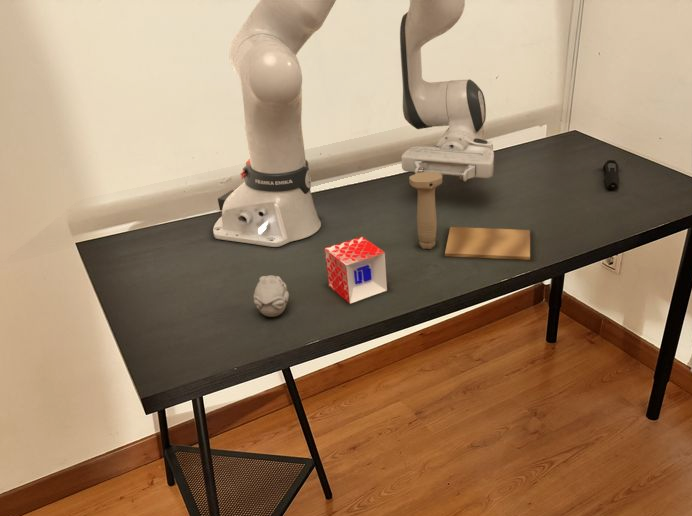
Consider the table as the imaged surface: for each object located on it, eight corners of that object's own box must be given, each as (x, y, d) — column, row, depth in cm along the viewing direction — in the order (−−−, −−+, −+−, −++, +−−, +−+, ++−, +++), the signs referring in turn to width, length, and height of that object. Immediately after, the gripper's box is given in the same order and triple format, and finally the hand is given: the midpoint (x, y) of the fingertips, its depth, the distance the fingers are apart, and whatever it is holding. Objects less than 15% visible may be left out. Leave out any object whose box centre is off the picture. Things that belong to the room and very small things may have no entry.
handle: (446, 248, 147) (446, 178, 139) (417, 254, 145) (415, 184, 136) (436, 238, 151) (435, 169, 142) (408, 244, 149) (405, 175, 140)
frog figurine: (295, 303, 130) (290, 269, 126) (286, 324, 124) (281, 290, 120) (261, 302, 130) (255, 268, 126) (251, 324, 124) (245, 289, 120)
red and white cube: (365, 273, 139) (362, 236, 134) (387, 290, 133) (384, 252, 129) (328, 286, 135) (324, 248, 130) (349, 304, 130) (345, 265, 125)
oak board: (444, 256, 144) (444, 252, 144) (450, 230, 154) (450, 226, 154) (529, 260, 143) (530, 256, 143) (529, 233, 153) (530, 229, 152)
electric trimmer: (603, 193, 171) (605, 181, 169) (602, 168, 183) (604, 156, 181) (619, 194, 170) (621, 182, 168) (617, 169, 182) (619, 157, 181)
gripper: (409, 135, 162) (392, 157, 151) (499, 142, 158) (487, 165, 147) (410, 162, 165) (393, 185, 155) (498, 170, 162) (487, 194, 151)
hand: (440, 175), depth 151 cm, fingers open, 8 cm apart
